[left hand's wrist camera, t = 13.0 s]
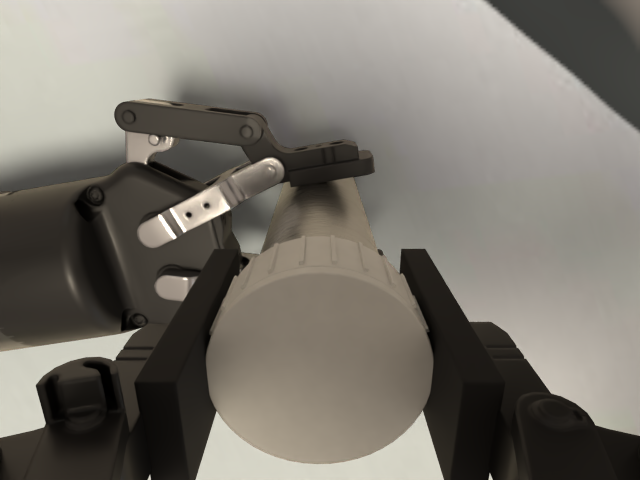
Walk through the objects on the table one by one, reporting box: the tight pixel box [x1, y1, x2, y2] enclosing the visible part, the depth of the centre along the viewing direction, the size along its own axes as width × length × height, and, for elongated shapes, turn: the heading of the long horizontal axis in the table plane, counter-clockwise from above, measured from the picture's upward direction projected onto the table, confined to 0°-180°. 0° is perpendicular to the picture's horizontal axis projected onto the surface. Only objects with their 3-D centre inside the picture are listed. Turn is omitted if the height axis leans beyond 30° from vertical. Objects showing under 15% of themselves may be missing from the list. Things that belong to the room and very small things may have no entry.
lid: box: [206, 235, 434, 464], centre depth 11 cm, size 5×5×2 cm
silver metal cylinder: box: [260, 177, 379, 254], centre depth 19 cm, size 4×4×17 cm
